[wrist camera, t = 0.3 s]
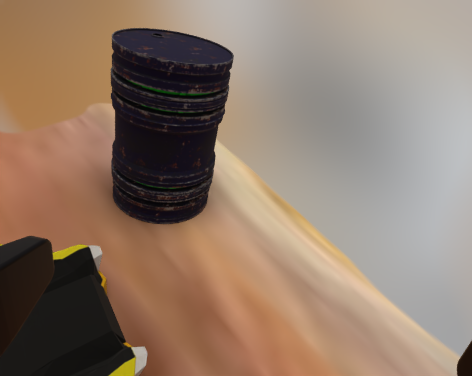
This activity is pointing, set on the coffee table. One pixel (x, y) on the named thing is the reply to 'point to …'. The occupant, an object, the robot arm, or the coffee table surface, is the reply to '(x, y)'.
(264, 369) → the coffee table surface
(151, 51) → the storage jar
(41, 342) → the yellow-green curved piece
